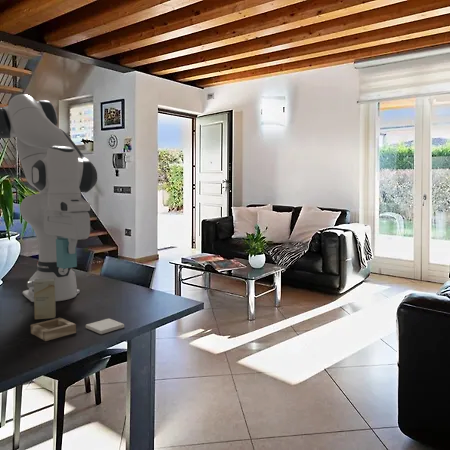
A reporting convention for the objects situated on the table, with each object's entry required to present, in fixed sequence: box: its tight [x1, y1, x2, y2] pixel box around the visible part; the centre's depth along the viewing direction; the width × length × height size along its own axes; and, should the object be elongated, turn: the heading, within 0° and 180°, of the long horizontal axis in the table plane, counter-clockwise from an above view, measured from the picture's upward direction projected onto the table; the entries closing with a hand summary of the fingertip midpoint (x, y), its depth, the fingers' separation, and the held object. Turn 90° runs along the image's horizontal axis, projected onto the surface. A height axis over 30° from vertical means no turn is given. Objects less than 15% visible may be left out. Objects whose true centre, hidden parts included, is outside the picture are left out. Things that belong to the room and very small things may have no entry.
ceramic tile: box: [85, 318, 125, 335], centre depth 129 cm, size 8×8×1 cm
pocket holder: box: [30, 317, 77, 342], centre depth 124 cm, size 9×9×2 cm
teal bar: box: [56, 238, 78, 269], centre depth 124 cm, size 4×4×8 cm
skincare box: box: [33, 278, 57, 320], centre depth 139 cm, size 6×4×12 cm
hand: (66, 252), depth 123 cm, fingers closed on teal bar, 4 cm apart
